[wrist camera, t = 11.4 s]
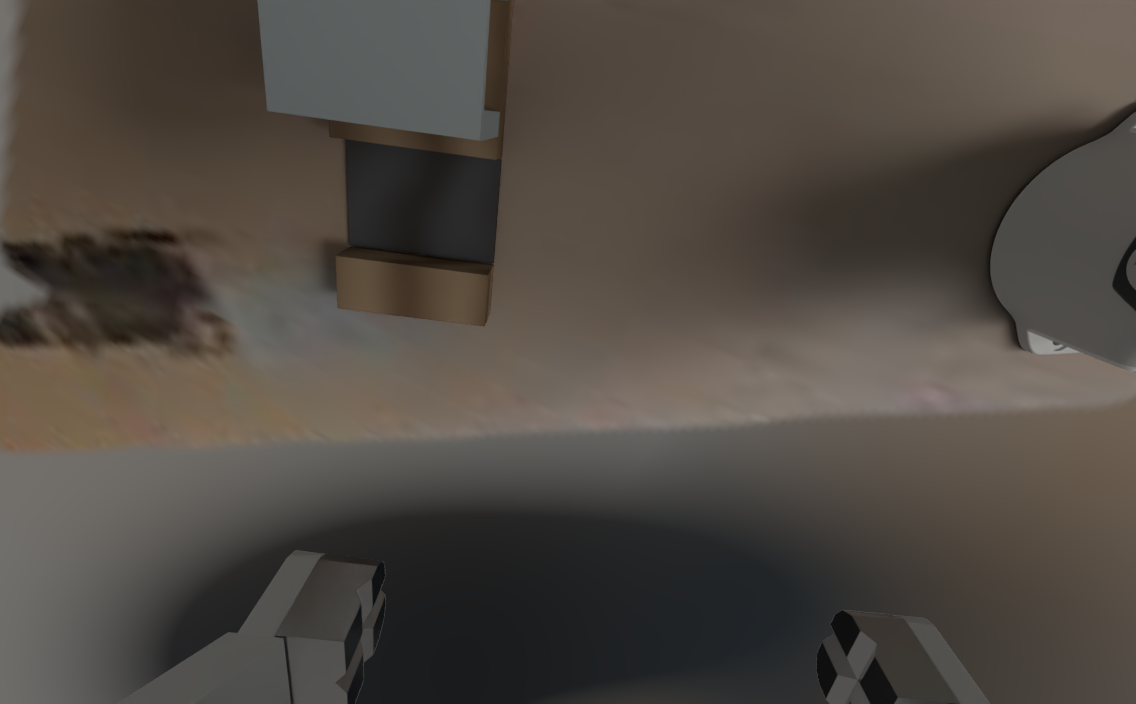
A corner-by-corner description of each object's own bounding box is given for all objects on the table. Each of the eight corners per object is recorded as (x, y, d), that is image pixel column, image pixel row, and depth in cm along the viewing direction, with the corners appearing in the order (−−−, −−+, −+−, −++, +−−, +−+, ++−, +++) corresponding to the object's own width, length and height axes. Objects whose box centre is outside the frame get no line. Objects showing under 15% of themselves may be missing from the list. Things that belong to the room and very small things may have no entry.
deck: (543, -394, 28) (540, -451, 25) (489, 312, 43) (484, 326, 40) (327, -435, 27) (299, -497, 24) (352, 295, 43) (337, 308, 40)
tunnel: (509, -29, 31) (492, -71, 24) (498, 136, 35) (479, 141, 28) (320, -58, 31) (247, -109, 24) (328, 113, 35) (267, 112, 28)
